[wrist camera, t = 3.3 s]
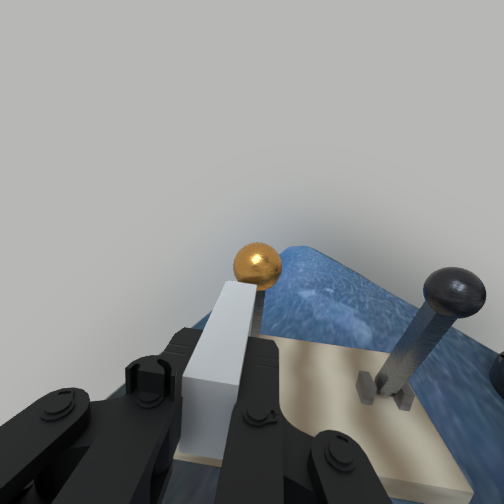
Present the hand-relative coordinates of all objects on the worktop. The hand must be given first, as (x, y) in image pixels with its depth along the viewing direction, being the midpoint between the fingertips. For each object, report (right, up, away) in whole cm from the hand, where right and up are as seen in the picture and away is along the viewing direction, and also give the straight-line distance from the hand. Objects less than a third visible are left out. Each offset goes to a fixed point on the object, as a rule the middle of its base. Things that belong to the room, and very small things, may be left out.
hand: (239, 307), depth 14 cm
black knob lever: (+14, -11, +14) cm, 23 cm away
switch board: (+6, -13, +16) cm, 21 cm away
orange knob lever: (0, -9, +15) cm, 17 cm away
